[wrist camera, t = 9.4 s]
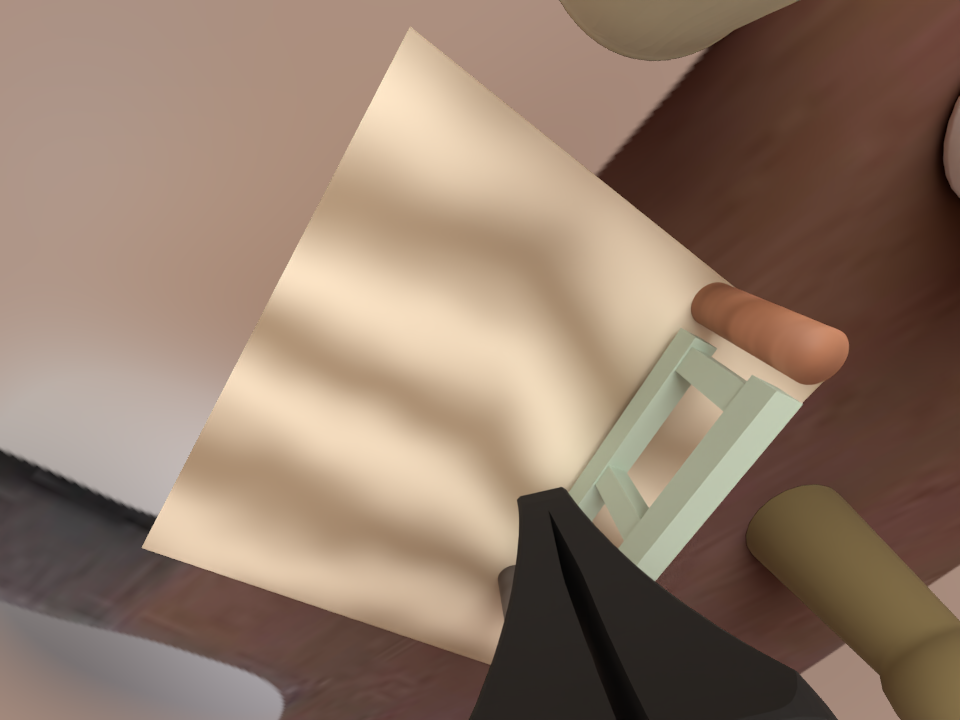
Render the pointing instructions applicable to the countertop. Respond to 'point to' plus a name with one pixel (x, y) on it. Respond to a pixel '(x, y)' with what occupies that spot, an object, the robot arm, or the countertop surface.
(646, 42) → the can
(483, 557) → the base
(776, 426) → the bar
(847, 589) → the cork
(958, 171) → the milk bottle
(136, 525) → the countertop surface
